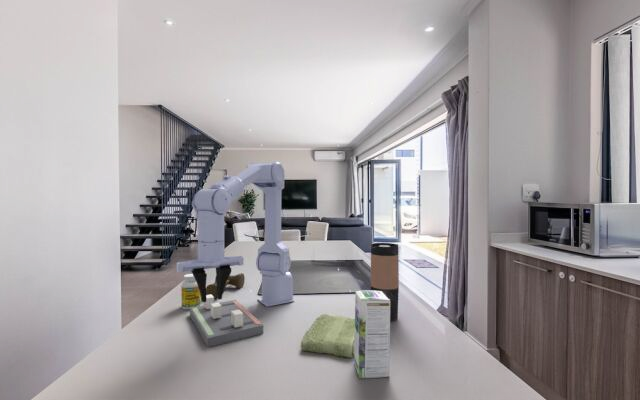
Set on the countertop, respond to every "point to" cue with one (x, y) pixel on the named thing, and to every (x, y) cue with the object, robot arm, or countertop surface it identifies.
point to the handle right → (208, 301)
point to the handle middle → (216, 310)
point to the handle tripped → (236, 318)
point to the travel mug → (386, 273)
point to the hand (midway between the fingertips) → (211, 299)
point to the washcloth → (331, 336)
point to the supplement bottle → (190, 292)
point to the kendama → (232, 280)
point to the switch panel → (224, 324)
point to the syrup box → (372, 334)
